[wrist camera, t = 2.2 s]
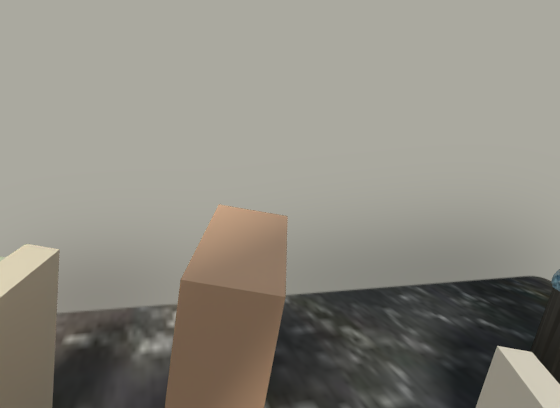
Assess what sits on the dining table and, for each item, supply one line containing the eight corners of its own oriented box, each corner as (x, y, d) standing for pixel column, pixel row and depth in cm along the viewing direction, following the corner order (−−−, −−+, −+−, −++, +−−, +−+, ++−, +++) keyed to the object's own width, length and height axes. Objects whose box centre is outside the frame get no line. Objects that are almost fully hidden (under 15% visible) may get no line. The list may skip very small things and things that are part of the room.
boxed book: (241, 463, 33) (287, 216, 28) (220, 628, 23) (285, 297, 18) (183, 454, 33) (218, 204, 28) (138, 616, 23) (180, 279, 18)
